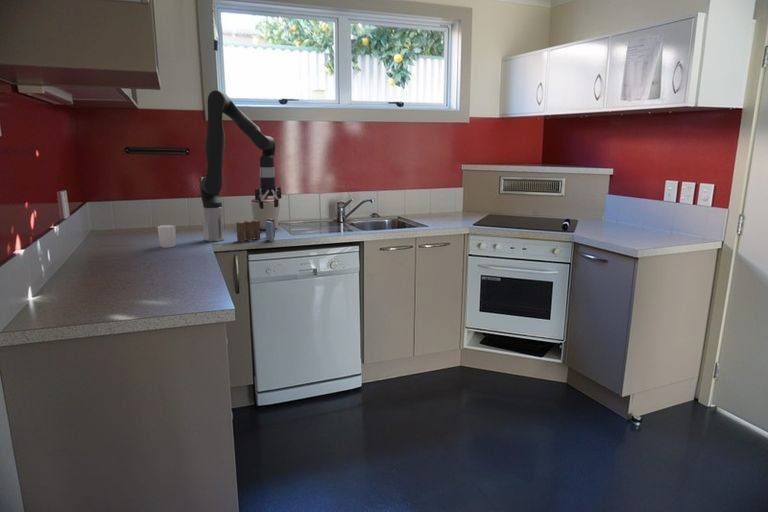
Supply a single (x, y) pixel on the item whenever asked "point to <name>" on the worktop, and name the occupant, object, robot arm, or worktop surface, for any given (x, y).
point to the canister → (265, 211)
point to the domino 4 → (273, 223)
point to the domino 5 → (269, 231)
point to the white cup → (166, 236)
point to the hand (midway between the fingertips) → (268, 208)
